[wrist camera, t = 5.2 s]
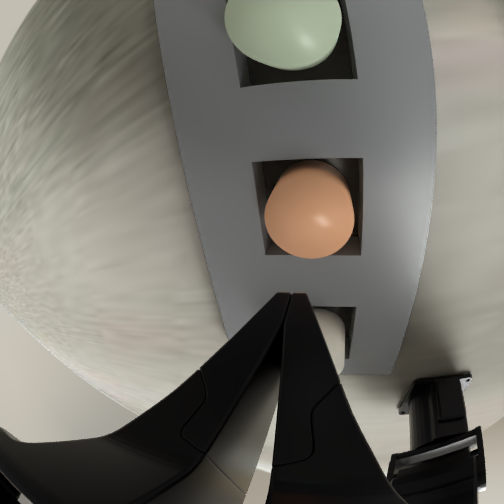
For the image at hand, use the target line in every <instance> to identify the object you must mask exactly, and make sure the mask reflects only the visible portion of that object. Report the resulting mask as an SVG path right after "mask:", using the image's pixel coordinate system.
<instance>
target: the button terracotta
mask: <svg viewBox="0 0 504 504" xmlns="http://www.w3.org/2000/svg"><path fill="white" fill-rule="evenodd" d="M264 217H265V225H266V228H267V231H268V233H269V235H270V237H271V238H272V240H273V241H274V242H275V243H276V244H277V245H278V246H279V247H280V248H281V249H283V250H284V251H286V252H288V253H289V254H292V255H294V256H297V257H301V258H308V259H315V258H322V257H326V256H328V255H331V254H333V253H335V252H336V251H338V250H339V249H341V248H342V247H343V246H344V245H345V244H346V242H347V241H348V239H349V238H350V236H351V234H352V231H353V227H354V211H353V206H352V200H351V195H350V190H349V186H348V184H347V182H346V180H345V178H344V177H343V175H342V174H341V173H340V172H339V171H338V170H337V169H336V168H334V167H333V166H331V165H329V164H327V163H325V162H321V161H316V160H306V161H301V162H298V163H295V164H293V165H291V166H290V167H288V168H287V169H286V170H285V171H284V172H283V173H282V174H281V176H280V177H279V179H278V181H277V183H276V185H275V187H274V189H273V191H272V193H271V195H270V197H269V199H268V201H267V204H266V207H265V214H264Z"/></svg>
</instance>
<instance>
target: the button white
mask: <svg viewBox="0 0 504 504" xmlns="http://www.w3.org/2000/svg"><path fill="white" fill-rule="evenodd" d="M313 310H314V312H315V315H316V318H317V320H318V323H319V325H320V328H321V331H322V333H323V336H324V338H325V341H326V344H327V346H328V349H329V352H330V354H331V357H332V360H333V362H334V365H335V368H336V371H337V373H338V375H339V374H340V373H341V372H342V370H343V368H344V359H345V325H344V323H343V321H342V319H341V318H340V317H339V316H338V315H336V314H335V313H333V312H331V311H328V310H325V309H321V308H313Z"/></svg>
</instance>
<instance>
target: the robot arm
mask: <svg viewBox="0 0 504 504" xmlns="http://www.w3.org/2000/svg"><path fill="white" fill-rule="evenodd" d="M471 381H472V375H471V374H466V375H459V376H450V377H441V378H431V379H419V380H416V381H414V382H413V384H412V386H411V388H410V390H409V392H408V394H407V396H406V397H405V399H404V401H403V403H402V405H401V407H400V408H399V414H400V415H405V414H409V422H410V451H407V452H403V453H399V454H398V453H396V454H392V456H391V461H390V462H389V468H388V473H387V478H386V476H385V474H384V473H383V471H382V469H381V467H380V465H379V463H378V461H377V460H376V458H375V456H374V454H373V452H372V450H371V448H370V446H369V444H368V443H367V441H366V439H365V437H364V435H363V433H362V431H361V429H360V427H359V425H358V423H357V421H356V419H355V417H354V415H353V413H352V410H351V408H350V405H349V403H348V400H347V398H346V395H345V392H344V389H343V387H342V384H340V379H339V376H338V373H337V371H336V368H335V365H334V362H333V360H332V357H331V354H330V352H329V349H328V346H327V344H326V341H325V338H324V336H323V333H322V331H321V328H320V325H319V323H318V320H317V318H316V315H315V312H314V310H313V307H312V305H311V302H310V300H309V297H308V295H307V294H306V293H293V294H291V293H290V292H277V293H276V294H275V295H274V296H273V297H272V298H271V299H270V300H269V301H268V302H267V303H266V304H265V305H264V306H263V307H262V308H261V309H260V310H259V311H258V312H257V313H256V314H255V315H254V316H253V317H252V318H251V319H250V320H249V321H248V322H247V323H246V324H245V325H244V326H243V327H242V328H241V329H240V330H239V331H238V332H237V333H236V334H235V335H234V336H233V337H232V338H231V339H230V340H228V341H227V342H226V343H225V344H224V345H223V346H222V347H221V348H220V349H219V350H218V351H217V352H216V353H215V354H214V355H213V356H212V357H211V358H210V359H209V360H208V361H207V362H205V363H204V364H203V365H202V366H201V367H200V370H197V371H196V372H195V373H194V374H192V375H191V376H190V377H189V378H188V379H187V380H186V381H185V382H184V383H182V384H181V385H180V386H179V387H178V388H177V389H175V390H174V391H173V392H172V393H170V394H169V395H168V396H166V397H165V398H164V399H162V400H161V401H160V402H158V403H157V404H156V405H154V406H153V407H151V408H150V409H148V410H147V411H146V412H144V413H143V414H141V415H140V416H138V417H137V418H135V419H134V420H132V421H131V422H130V423H128V424H126V425H125V426H123V427H122V428H120V429H118V430H117V431H115V432H113V433H110V434H108V435H105V436H101V437H97V438H90V439H81V440H71V441H60V442H45V443H25V442H21V441H19V440H18V439H17V438H16V437H14V436H13V435H12V434H10V433H9V432H8V431H6V430H5V429H3V428H1V427H0V504H243V501H244V499H245V496H246V495H245V494H246V493H247V491H248V488H249V485H250V482H251V480H252V477H253V474H254V471H255V469H256V466H257V463H258V460H259V457H260V454H261V451H262V448H263V445H264V442H265V439H266V436H267V433H268V430H269V427H270V424H271V421H272V418H273V414H274V411H275V408H276V405H277V401H278V409H277V420H276V431H275V442H274V451H273V461H272V467H273V468H272V471H271V479H270V485H269V491H268V495H267V499H266V503H265V504H478V492H480V491H483V490H486V470H485V457H484V448H483V439H482V432H481V426H478V427H476V428H475V429H473V430H471V431H468V424H467V417H466V407H465V402H464V396H463V392H464V391H465V389H466V388H467V386H468V385H469V384H470V382H471ZM476 446H477V447H478V449H476V450H473V451H471V452H470V449H471V448H474V447H476Z"/></svg>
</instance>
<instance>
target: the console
mask: <svg viewBox="0 0 504 504" xmlns="http://www.w3.org/2000/svg"><path fill="white" fill-rule="evenodd" d="M340 1H341V5H342V10H343V15H344V21H345V26H346V32H347V38H348V45H349V51H350V58H351V66H352V74H353V79H329V80H307V81H293V82H282V83H272V84H263V85H256V86H251V83H250V77H249V70H248V64H247V58H246V55H245V54H244V53H242V52H241V51H240V50H239V49H238V48H237V47H236V46H235V45H234V43H233V42H232V41H231V39H230V37H229V35H228V33H227V31H226V27H225V20H224V16H225V9H226V5H227V2H228V0H153V2H154V10H155V17H156V24H157V31H158V37H159V44H160V50H161V56H162V62H163V68H164V74H165V79H166V85H167V90H168V96H169V101H170V106H171V111H172V116H173V121H174V126H175V131H176V136H177V141H178V146H179V150H180V155H181V159H182V164H183V169H184V173H185V177H186V182H187V186H188V190H189V195H190V199H191V203H192V207H193V211H194V216H195V220H196V224H197V228H198V232H199V236H200V239H201V243H202V247H203V251H204V255H205V259H206V263H207V266H208V270H209V274H210V277H211V281H212V285H213V288H214V292H215V295H216V299H217V303H218V306H219V310H220V313H221V316H222V320H223V323H224V327H225V330H226V333H227V337H228V340H230V339H231V338H232V337H233V336H234V335H235V334H236V333H237V332H238V331H239V330H240V329H241V328H242V327H243V326H244V325H245V324H246V323H247V322H248V321H249V320H250V319H251V318H252V317H253V316H254V315H255V314H256V313H257V312H258V311H259V310H260V309H261V308H262V307H263V306H264V305H265V304H266V303H267V302H268V301H269V300H270V299H271V298H272V297H273V296H274V295H275V294H276V293H277V292H290V293H291V294H293V293H306V294H307V295H308V297H309V300H310V302H311V305H312V306H327V307H353V312H352V321H351V329H350V337H349V338H345V359H344V368H343V370H342V372H341V373H340V374H339V375H384V374H391V373H392V371H393V368H394V365H395V362H396V359H397V357H398V354H399V351H400V348H401V345H402V342H403V338H404V335H405V332H406V329H407V325H408V322H409V319H410V315H411V311H412V308H413V304H414V300H415V296H416V292H417V288H418V284H419V279H420V275H421V270H422V265H423V260H424V255H425V250H426V244H427V238H428V232H429V225H430V218H431V210H432V202H433V192H434V180H435V166H436V136H437V122H436V93H435V79H434V68H433V59H432V51H431V44H430V37H429V31H428V26H427V20H426V15H425V11H424V6H423V2H422V0H340ZM318 158H359V228H358V236H350V238H349V239H348V241H347V242H346V244H345V245H344V246H343V247H342V248H341V249H339V250H338V251H336V252H335V253H333V254H331V255H328V256H326V257H322V258H315V259H308V258H301V257H297V256H294V255H292V254H289V253H288V252H286V251H284V250H283V249H281V248H280V247H279V246H278V245H277V244H276V243H275V242H274V241H273V240H272V238H271V237H270V235H269V233H268V231H267V228H266V225H265V217H264V214H265V207H266V204H267V194H266V187H265V179H264V172H263V165H262V161H274V160H292V159H318Z"/></svg>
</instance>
